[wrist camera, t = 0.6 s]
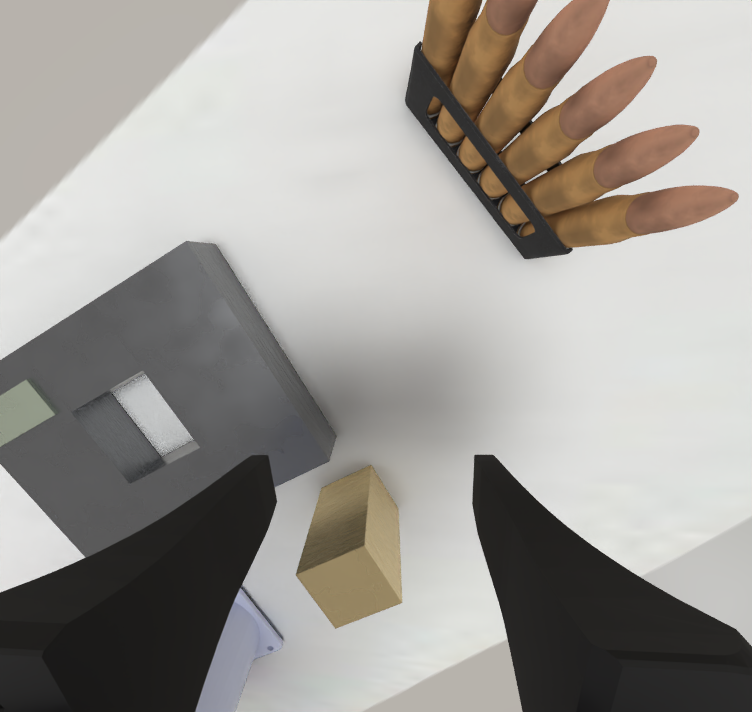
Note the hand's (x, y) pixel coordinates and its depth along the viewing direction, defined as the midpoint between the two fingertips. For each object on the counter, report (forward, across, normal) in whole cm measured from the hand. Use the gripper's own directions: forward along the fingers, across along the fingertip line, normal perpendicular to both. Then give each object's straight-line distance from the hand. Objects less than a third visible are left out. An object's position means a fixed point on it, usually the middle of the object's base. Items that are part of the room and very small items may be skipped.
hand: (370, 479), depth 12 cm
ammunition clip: (+12, -6, -11) cm, 17 cm away
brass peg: (+10, +2, +10) cm, 14 cm away
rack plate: (+10, +15, +2) cm, 18 cm away
